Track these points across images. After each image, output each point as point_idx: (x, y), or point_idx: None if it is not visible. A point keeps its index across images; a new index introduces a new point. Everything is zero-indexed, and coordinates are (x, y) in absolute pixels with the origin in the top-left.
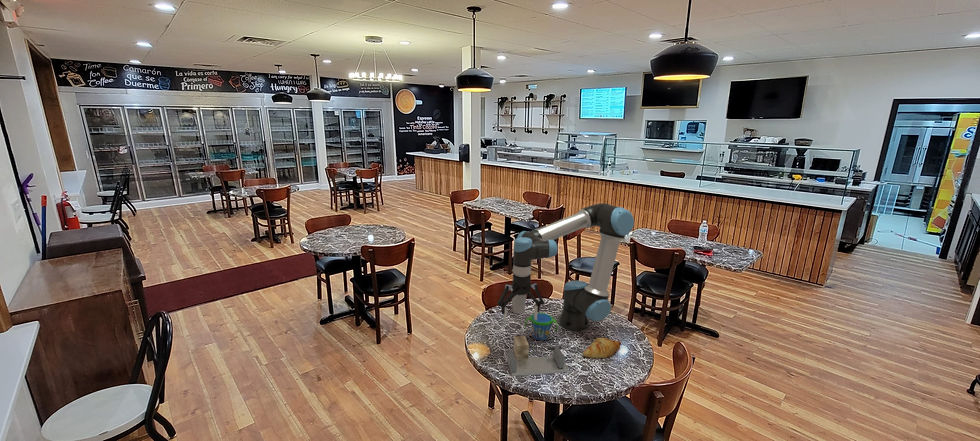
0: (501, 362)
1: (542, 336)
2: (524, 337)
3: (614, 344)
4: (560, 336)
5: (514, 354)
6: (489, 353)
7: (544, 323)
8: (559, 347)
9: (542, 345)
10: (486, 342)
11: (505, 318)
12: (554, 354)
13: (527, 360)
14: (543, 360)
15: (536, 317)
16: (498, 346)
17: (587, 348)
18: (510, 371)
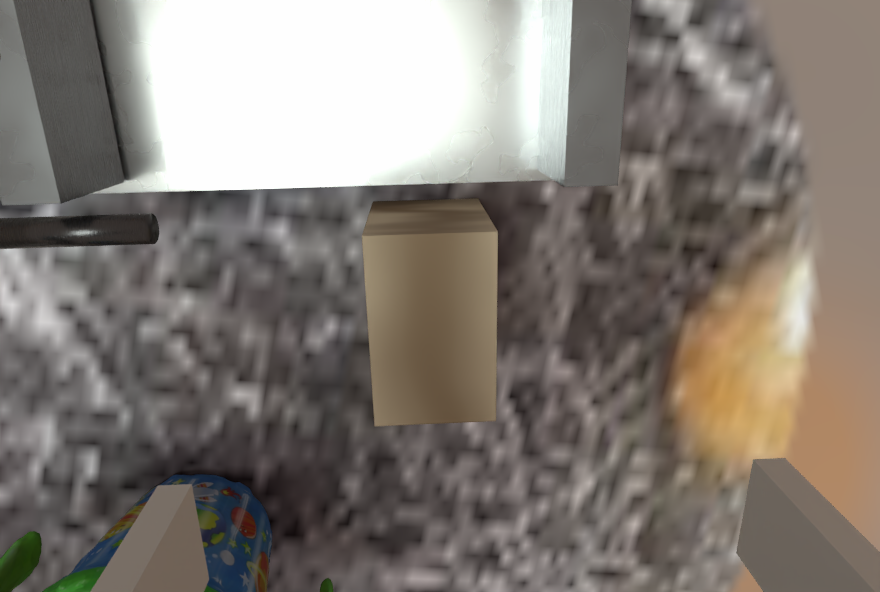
0: (624, 176)
1: None
2: (383, 394)
3: None
4: (30, 520)
5: (570, 65)
6: (691, 319)
7: None
8: (8, 229)
9: (208, 403)
10: (673, 470)
11: (811, 504)
12: (88, 133)
13: (393, 136)
14: (231, 121)
15: (146, 524)
16: (591, 411)
17: None
18: None
